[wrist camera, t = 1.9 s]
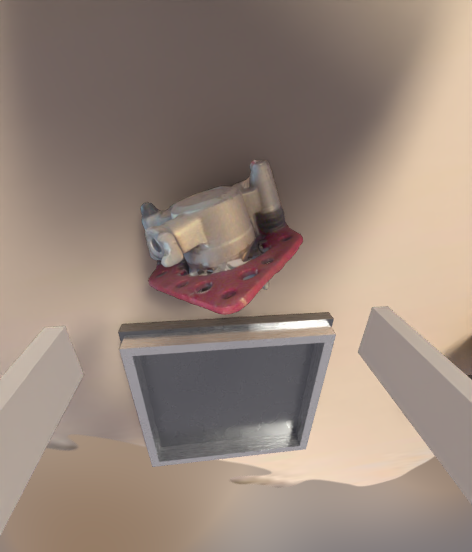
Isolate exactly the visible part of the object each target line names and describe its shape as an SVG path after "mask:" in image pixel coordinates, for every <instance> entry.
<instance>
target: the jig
mask: <svg viewBox="0 0 472 552" xmlns="http://www.w3.org/2000/svg"><path fill="white" fill-rule="evenodd" d="M332 323H333V317H332V316H331V315H330V313H329V312H324V313H306V314H289V315H272V316H255V317H238V318H221V319H203V320H186V321H169V322H152V323H135V324H122V325H121V327H120V330H119V332H118V333H119V336H120V340H121V346H120V348H119V350H120V354H121V357H122V361H123V364H124V368H125V371H126V375H127V378H128V382H129V386H130V389H131V393H132V396H133V400H134V403H135V407H136V410H137V414H138V417H139V421H140V424H141V428H142V432H143V435H144V439H145V442H146V446H147V449H148V453H149V456H150V460H151V463H152V466H153V467H155V466H163V465H172V464H180V463H189V462H198V461H207V460H216V459H224V458H233V457H242V456H250V455H259V454H268V453H276V452H285V451H294V450H302V449H306V446H307V443H308V439H309V435H310V431H311V427H312V423H313V420H314V416H315V412H316V408H317V404H318V401H319V397H320V393H321V389H322V385H323V382H324V378H325V374H326V370H327V366H328V363H329V359H330V355H331V351H332V347H333V344H334V340H335V336H336V334H335V332H334V331H333V329H332V328H331V327H332Z"/></svg>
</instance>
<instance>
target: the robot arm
mask: <svg viewBox="0 0 472 552" xmlns="http://www.w3.org/2000/svg"><path fill="white" fill-rule="evenodd" d="M358 353H359V354H360V356H361V357H362V359H363V360H364V361H365V363H366V364H367V365H368V367H369V368H370V369H371V371H372V372H373V373H374V375H375V376H376V377H377V379H378V380H379V381H380V383H381V384H382V385H383V387H384V388H385V389H386V391H387V392H388V393H389V395H390V396H391V397H392V399H393V400H394V401H395V403H396V404H397V405H398V407H399V408H400V409H401V411H402V412H403V413H404V415H405V416H406V418H407V419H408V420H409V422H410V423H411V424H412V426H413V427H414V428H415V430H416V431H417V432H418V434H419V435H420V436H421V438H422V439H423V440H424V442H425V443H426V444H427V446H428V447H429V448H430V450H431V451H432V452H433V454H434V455H435V456H436V458H437V459H438V460H439V462H440V463H441V464H442V466H443V467H444V468H445V470H446V471H447V472H448V474H449V475H450V477H451V478H452V479H453V480H454V482H455V483H456V484H457V486H458V487H459V489H460V490H461V491H462V493H463V494H464V495H465V496H466V498H467V499H468V500H469V502H470V503H471V505H472V375H466V374H465V373H463V372H462V371H461V370H460V369H459V368H458V367H457V366H455V365H454V364H453V363H452V362H451V361H450V360H449V359H447V358H446V357H445V356H444V355H443V354H442V353H441V352H439V351H438V350H437V349H436V348H435V347H434V346H433V345H431V344H430V343H429V342H428V341H427V340H426V339H425V338H423V337H422V336H421V335H420V334H419V333H418V332H417V331H415V330H414V329H413V328H412V327H411V326H410V325H409V324H407V323H406V322H405V321H404V320H403V319H402V318H401V317H399V316H398V315H397V314H396V313H395V312H394V311H393V310H391V309H390V308H389V307H388V306H384V307H372V309H371V312H370V316H369V319H368V322H367V325H366V328H365V331H364V334H363V338H362V341H361V344H360V347H359V350H358ZM83 375H84V373H83V371H82V368H81V366H80V363H79V360H78V358H77V355H76V353H75V350H74V348H73V345H72V342H71V340H70V337H69V335H68V332H67V329H66V327H65V326H58V327H44V329H43V330H42V331H41V332H40V333H39V334H38V336H37V337H36V338H35V339H34V340H33V341H32V342H31V344H30V345H29V346H28V347H27V348H26V349H25V350H24V352H23V353H22V354H21V355H20V356H19V357H18V359H17V360H16V361H15V362H14V363H13V364H12V365H11V367H10V368H9V369H8V370H7V371H6V372H5V373H4V375H3V376H2V377H1V378H0V535H1V533H2V531H3V529H4V527H5V526H6V524H7V522H8V520H9V518H10V516H11V514H12V512H13V510H14V508H15V506H16V504H17V502H18V501H19V499H20V497H21V495H22V493H23V491H24V489H25V487H26V485H27V483H28V481H29V479H30V477H31V476H32V474H33V472H34V470H35V468H36V466H37V464H38V462H39V460H40V458H41V456H42V454H43V452H44V450H45V449H46V447H47V445H48V443H49V441H50V439H51V437H52V435H53V433H54V431H55V429H56V427H57V425H58V424H59V422H60V420H61V418H62V416H63V414H64V412H65V410H66V408H67V406H68V404H69V402H70V400H71V399H72V397H73V395H74V393H75V391H76V389H77V387H78V385H79V383H80V381H81V379H82V377H83Z"/></svg>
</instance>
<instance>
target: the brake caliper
mask: <svg viewBox="0 0 472 552" xmlns="http://www.w3.org/2000/svg"><path fill="white" fill-rule="evenodd" d="M250 170H251V174H250V176H249V178H248V179H247V180H245V181H242V182H239V183H236V184H234V185H233V186H232V187H229V186H219V187H216V188H213V189H210V190H207V191H204V192H200V193H197V194H194V195H192V196H189V197H187V198H184V199H182V200H180V201H179V202H177V203H175V204H173V205H172V206H171V207H170V208H169V209H167V210H166V211H160V210H158V209H157V208H156V207H155V206H154V205H153V204H152V203H149V202H146V203H144V204H143V205H142V206H141V214H142V224H143V226H144V228H145V236H146V241H147V246H148V249H149V252H150V256H151V258H152V259H154V260H157V267H156V270H155V271H154V272H153V273H152V275H151V276H150V278H149V280H148V282H149V285H150V286H151V287H153V288H154V289H156V290H157V291H161V292H164V293H166V294H169V295H171V296H174V297H176V298H178V299H181V300H184V301H187V302H189V303H191V304H194V305H198V306H200V307H203V308H205V309H208V310H211V311H213V312H216V313H219V314H224V315H226V314H231V313H235V312H238V311H239V310H241V309H242V308H244V307H245V306H246V305H247V304H249V302H250V301H251V300H252V299H253V298H254V297H255V295H256V294H257V293H258V292H259V291H260V289H261V288H262V287H263V288H264V289H268V286H269V280H270V279H271V278H272V277H273V276H274V274H276V273H278V272H279V271H280V270H281V269H282V268H283V266H284V265H285V263H286V262H287V261H288V260H290V259H291V258H292V256H293V255H294V254H295V253H296V252H297V250H298V248H299V246H300V245H301V244H302V242H303V238H302V236H301V234H299V233H297V232H295V231H293V230H291V229H290V228H289V227H288V225H287V224H286V222H285V218H284V211H283V209H282V206H281V203H280V200H279V197H278V193H277V188H276V185H275V182H274V177H273V174H272V171H271V168H270V165H269V163H268V161H265V160H262V161H257V160H253V161H252V162H251V164H250ZM268 262H270V263H268ZM266 263H268V264H266ZM201 289H202V292H200V293H198V292H199V291H200V290H201Z"/></svg>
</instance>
